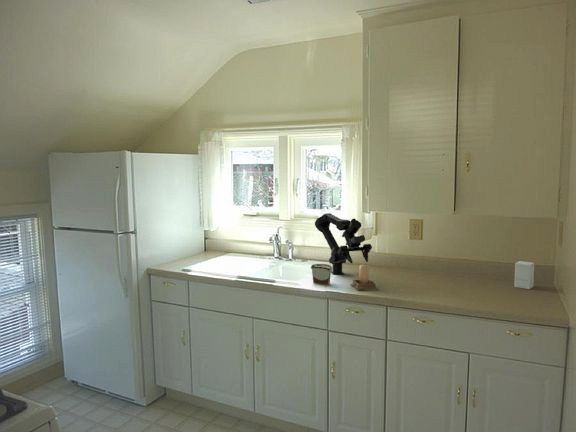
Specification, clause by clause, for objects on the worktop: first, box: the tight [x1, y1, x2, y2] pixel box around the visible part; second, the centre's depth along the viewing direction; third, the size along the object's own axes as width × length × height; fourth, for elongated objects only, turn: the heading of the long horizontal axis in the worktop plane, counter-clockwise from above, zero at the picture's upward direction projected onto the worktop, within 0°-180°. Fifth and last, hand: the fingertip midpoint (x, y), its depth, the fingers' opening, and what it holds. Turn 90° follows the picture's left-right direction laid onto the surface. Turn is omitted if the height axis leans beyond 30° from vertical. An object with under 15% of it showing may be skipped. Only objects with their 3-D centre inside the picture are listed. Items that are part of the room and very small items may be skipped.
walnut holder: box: [350, 278, 379, 292], centre depth 228 cm, size 11×11×3 cm
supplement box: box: [513, 260, 535, 290], centre depth 225 cm, size 7×7×13 cm
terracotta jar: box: [358, 263, 370, 284], centre depth 227 cm, size 5×5×11 cm
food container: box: [310, 263, 333, 286], centre depth 237 cm, size 12×6×10 cm, turn 56°
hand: (359, 262), depth 235 cm, fingers open, 9 cm apart
